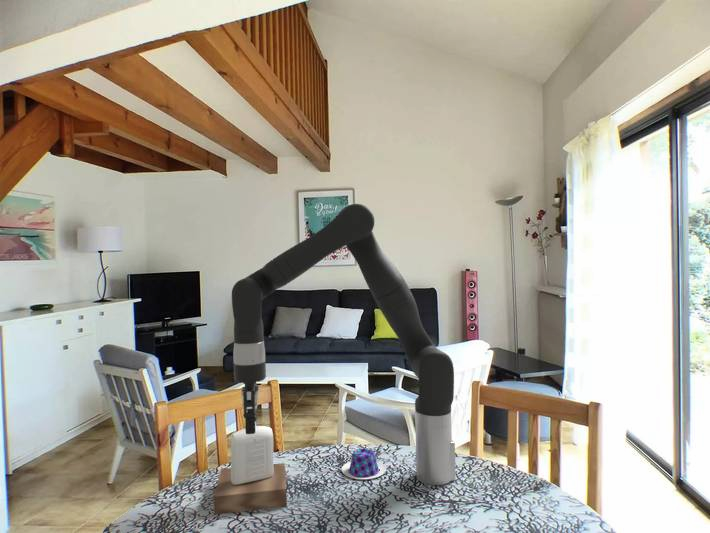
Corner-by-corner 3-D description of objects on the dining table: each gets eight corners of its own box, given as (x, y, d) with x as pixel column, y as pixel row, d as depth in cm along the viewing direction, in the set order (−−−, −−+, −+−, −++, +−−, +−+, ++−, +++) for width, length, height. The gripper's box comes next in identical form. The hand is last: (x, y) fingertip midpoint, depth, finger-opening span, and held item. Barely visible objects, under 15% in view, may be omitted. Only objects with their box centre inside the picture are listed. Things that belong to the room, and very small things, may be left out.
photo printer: (270, 470, 112) (269, 421, 112) (276, 477, 109) (275, 426, 109) (229, 480, 107) (228, 428, 107) (233, 487, 104) (232, 434, 104)
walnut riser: (284, 478, 116) (284, 463, 116) (286, 506, 103) (286, 488, 103) (221, 485, 113) (220, 469, 113) (214, 514, 100) (214, 496, 100)
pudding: (353, 459, 128) (352, 440, 128) (392, 466, 123) (392, 447, 123) (333, 477, 117) (333, 457, 117) (376, 485, 112) (375, 464, 112)
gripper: (264, 365, 102) (266, 436, 102) (265, 354, 116) (267, 416, 116) (231, 367, 101) (232, 439, 100) (235, 355, 115) (237, 419, 114)
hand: (251, 427), depth 108 cm, fingers open, 8 cm apart
